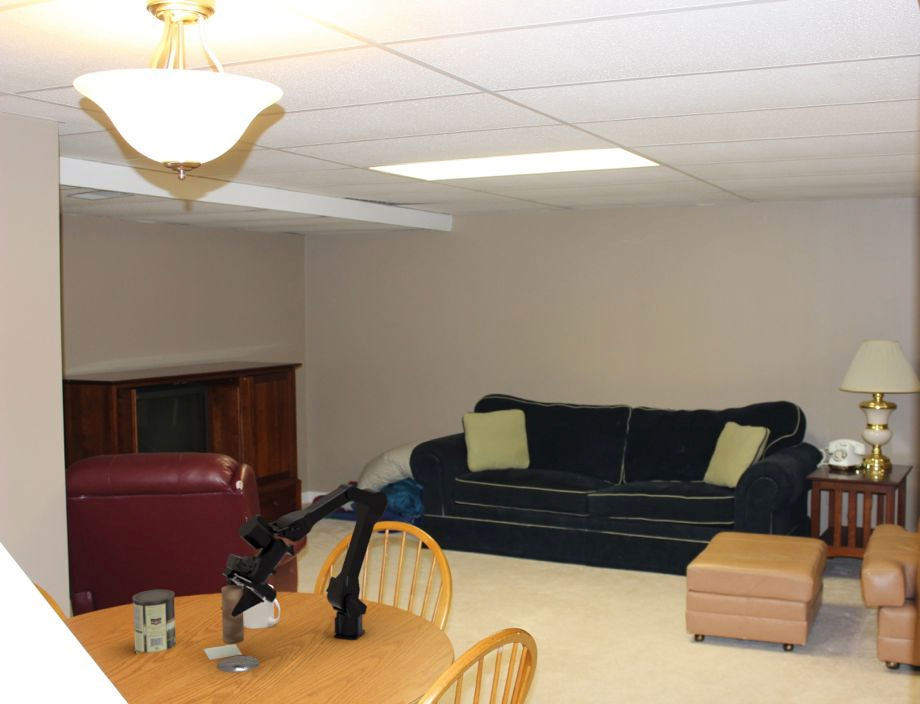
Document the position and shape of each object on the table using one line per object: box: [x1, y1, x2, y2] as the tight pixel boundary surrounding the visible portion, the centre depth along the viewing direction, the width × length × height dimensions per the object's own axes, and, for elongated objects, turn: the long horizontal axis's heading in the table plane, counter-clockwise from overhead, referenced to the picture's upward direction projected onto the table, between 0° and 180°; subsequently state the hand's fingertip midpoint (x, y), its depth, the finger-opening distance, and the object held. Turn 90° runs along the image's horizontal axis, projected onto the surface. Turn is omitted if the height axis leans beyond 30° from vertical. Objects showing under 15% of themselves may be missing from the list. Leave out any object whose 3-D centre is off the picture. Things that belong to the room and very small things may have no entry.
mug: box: [243, 583, 281, 630], centre depth 274 cm, size 9×12×11 cm
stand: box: [203, 644, 243, 661], centre depth 254 cm, size 8×8×1 cm
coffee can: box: [132, 589, 177, 654], centre depth 258 cm, size 10×10×14 cm
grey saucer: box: [216, 655, 260, 674], centre depth 245 cm, size 10×10×1 cm
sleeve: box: [221, 585, 245, 645], centre depth 246 cm, size 5×5×13 cm
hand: (227, 613), depth 245 cm, fingers closed on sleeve, 5 cm apart
